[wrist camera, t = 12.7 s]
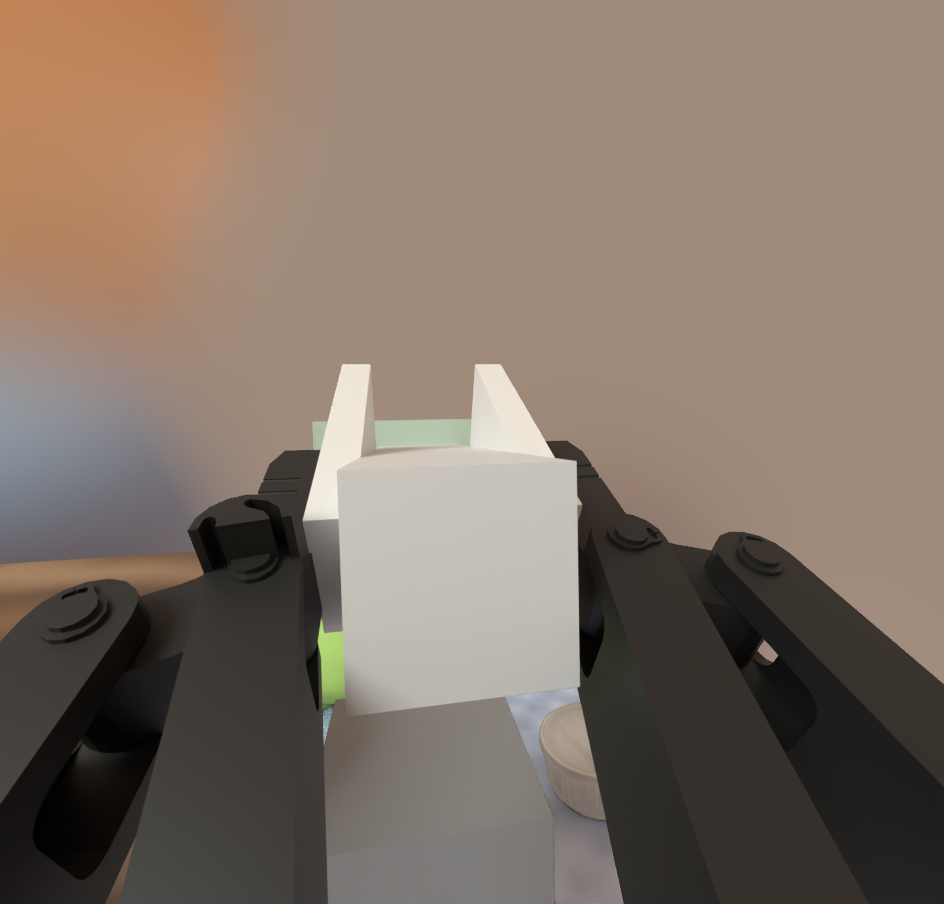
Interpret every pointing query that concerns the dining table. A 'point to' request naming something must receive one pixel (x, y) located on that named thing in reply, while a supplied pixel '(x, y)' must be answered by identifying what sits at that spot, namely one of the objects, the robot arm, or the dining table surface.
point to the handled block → (454, 569)
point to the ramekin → (571, 760)
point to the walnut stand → (28, 584)
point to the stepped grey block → (435, 808)
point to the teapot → (331, 666)
